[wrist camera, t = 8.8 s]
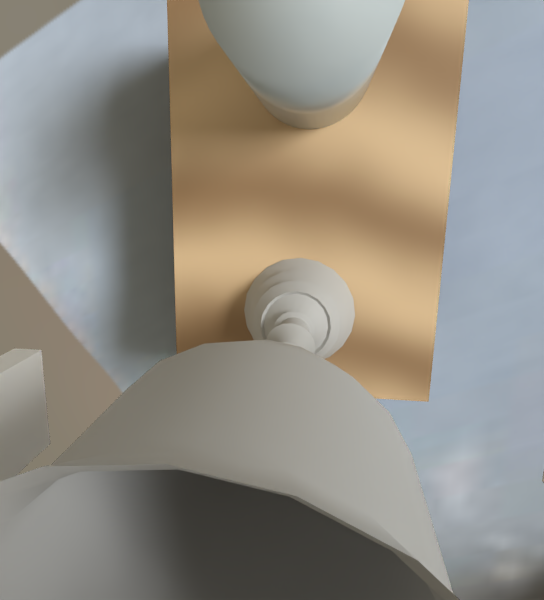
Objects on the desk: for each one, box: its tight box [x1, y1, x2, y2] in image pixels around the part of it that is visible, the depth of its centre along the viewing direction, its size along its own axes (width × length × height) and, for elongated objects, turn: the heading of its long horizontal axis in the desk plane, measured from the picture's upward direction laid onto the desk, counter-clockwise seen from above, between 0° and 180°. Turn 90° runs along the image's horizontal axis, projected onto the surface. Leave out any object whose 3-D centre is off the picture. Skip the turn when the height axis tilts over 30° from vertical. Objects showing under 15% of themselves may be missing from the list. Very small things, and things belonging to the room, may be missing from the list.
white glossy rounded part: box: [199, 0, 405, 129], centre depth 15 cm, size 5×5×9 cm
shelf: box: [167, 0, 469, 402], centre depth 24 cm, size 17×12×6 cm
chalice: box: [0, 258, 459, 600], centre depth 13 cm, size 7×7×18 cm
